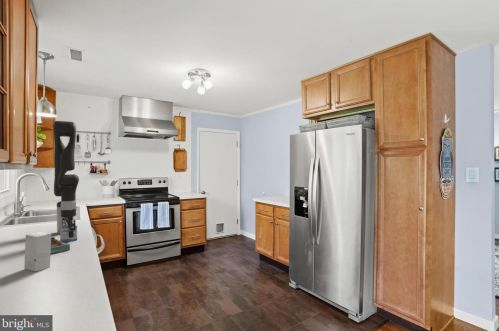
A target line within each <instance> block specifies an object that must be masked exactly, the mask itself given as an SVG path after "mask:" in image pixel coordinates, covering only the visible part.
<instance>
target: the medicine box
mask: <svg viewBox="0 0 499 331" xmlns="http://www.w3.org/2000/svg"><path fill="white" fill-rule="evenodd" d="M59 238H60V240H59V241H60V242H63V243H66V242H67V241H68V242H74V241H77V240H78V225H77V224H75V230H74V237H72V238H69V230H68V228H67V226H62V227H60V234H59ZM68 242H67V243H68Z"/></svg>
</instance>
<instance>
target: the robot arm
mask: <svg viewBox="0 0 499 331" xmlns="http://www.w3.org/2000/svg"><path fill="white" fill-rule="evenodd" d="M52 128H53V139H54V140H53V141H54V151H53V152H54V153H53V163H54V164H53V167H54V179H53V180H54V181H53V194H54V196H55V197H60V201H57V203H56V234H57V235H60V227H62V226H67V228H68V230H69V238H72V237H74V230H75V225H76V221H77V220H76V219H74V218H75V217H76V216H77V202H76V199H77V198H76V196H77V195H76V192H77V187H78V186H79V181H80V178H79V176H78V175H77V174H67V173H68V172H71V171H73V170H75V168H76V166H75V152H76V151H75V150H76V139H77V138H76V137H77V126H76V123H75V122H74V121H69V120H67V121H66V120H65V121H64V120H55V121H54V122H53V127H52ZM61 137H63V138H64V137H65V138H68V137H69V140H68V143H67V145H65V144H64V143H63V141H62V138H61Z"/></svg>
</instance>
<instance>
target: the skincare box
mask: <svg viewBox="0 0 499 331" xmlns="http://www.w3.org/2000/svg"><path fill="white" fill-rule="evenodd" d="M51 237H52V233H48V232H43V231H37V232H32V233H26V234H25V242H24V243H25V246H24V247H25V248H24V263H23V264H24V266H23V268H24V270H27V271H32V272H40V271H42V270H46V269H48V268H51V254H50V253H51Z"/></svg>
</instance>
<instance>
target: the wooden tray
mask: <svg viewBox="0 0 499 331" xmlns="http://www.w3.org/2000/svg"><path fill="white" fill-rule="evenodd" d="M70 250H71V244H70V243H68V244H67V243H66V242H61V241H60V240H58V239H56V237H53V236H51V253H50V255H54V254H55V255H56V254H58V253H63V252H68V251H70Z"/></svg>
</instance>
